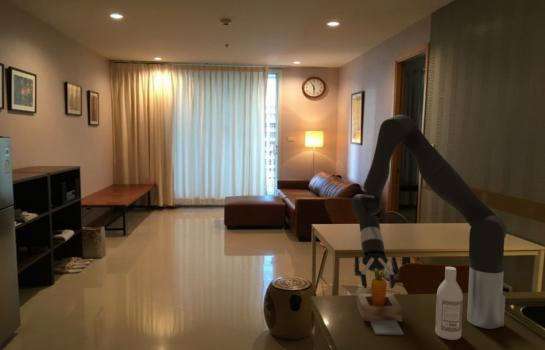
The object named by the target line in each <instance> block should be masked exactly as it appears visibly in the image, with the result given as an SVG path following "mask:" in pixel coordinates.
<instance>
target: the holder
mask: <svg viewBox="0 0 545 350" xmlns="http://www.w3.org/2000/svg"><path fill="white" fill-rule="evenodd" d="M356 307H357V309H358V312H359V314H360V316H361V320H362V321H363V322H370V320H396V321H397V323H398V322H403V308H402V305H400V303H399V302H398V300H397V299H396V297H395V296H394V294H393V293H386V296H385V301H384V305H383V306H374V305H373V301H372V293H356Z"/></svg>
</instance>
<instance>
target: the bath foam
mask: <svg viewBox="0 0 545 350" xmlns="http://www.w3.org/2000/svg"><path fill="white" fill-rule="evenodd" d="M436 291H437V292H436V301H435V303H436V305H435V326H434V327H435V329H434V330H435V331H434V332H435V334H436V336H438V337H439V338H442V339H444V340H449V341H455V340H459V339H460V338H462V329H463V327H462V325H463V308H464V307H463V306H464V305H463V304H464V296H463V295H464V294H463V290H462V288H461V287H460V285H459V284H458V282H457V268H456V267H453V266H445V271H444V280H443V281H442V282H441V283H440V284H439V286H438V288H437V290H436Z"/></svg>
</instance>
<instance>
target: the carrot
mask: <svg viewBox="0 0 545 350" xmlns="http://www.w3.org/2000/svg"><path fill="white" fill-rule="evenodd" d="M384 271H385V269H383V270H381V271H378V270H377V269H375V271H374V273H375V278H372V280H371V284H370V285H371V294H372V301H373V305H374V306H383V305H384V301H385V296H386V294H387V280H386V279H384V278H383V277H384V276H387V274H386V273H384ZM380 272H381V273H380Z"/></svg>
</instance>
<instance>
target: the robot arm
mask: <svg viewBox="0 0 545 350" xmlns="http://www.w3.org/2000/svg"><path fill="white" fill-rule="evenodd" d="M379 127H380V128H379V129H378V135H377V140H376V145H375V149H374V155H373V157H372V158H373V159H372V161H371V165H370V168H369V171H368V172H367V175H366V178H365V181H364V184H363V190H364V191H365V192H366V193H367V194H362V193H359V194H355V195H354V196H353V198H352V199H351V207H352V211H353V213H354V215H355V217H356V219H357V221H358V225H359V233H360V245H361V251H362V257H359V256H357V255H355V257H354V260H353V267H354V269H353V270H354V276H356V277H360V282H361V286H362V287H363V289H367V287H368V282H367V281H368V280H367V275H366V274H367V273H368V272H369V271H370V272H375V269H377V270H378V271H379V272H382V270H383V269H385V271H384V273H386V276H388V282H389V288H390V289H393V288H394V287H395V286H396V280H395V277H398V275H399V274H400V270H399V266H398V262H397V258H396V257H395V256H392V257H390V258H389V257H387V256H386V250H385V245H384V244H385V243H384V240H383V239H384V238H383V234H382V232H381V225H380V220H379V218H378V217H377V216H376V215H377V214H378V213H379V212H380V211H381V209H382V197H383V191H384V188H385V186H386V184H387V181H388V178H389V176H390V167H391V166H390V165H391V159H392V156H393V154H394V152H395V150H396V149H397V147H398V145H399V144H402V145H403V146H404V147H405V148H406V150H408V151H409V152H410V153H411V155H412V156H413V158H414V161H415V162H416V166H417V168H418V171H419V174H420V175H421V178H422V179H423V181H424V182H425V183H426V184H427V186H428V187H429V188H430V189H431V190H432V191H433V192H434V193H435V194H436V195H437V196H438V197H439V198H440V199H442V201H444V202H446V203H447V204H448V205H449V206H451V207H452V208H453V209H455V210H456V211H457V212H458V213H460V215H461V216H462V217H463V218H464V220H465V221H466V222H467V223H468V225H469V226H470V229H469V234H468V235H469V236H468V237H469V239H468V258H469V267H468V268H469V270H468V292H467V293H468V294H467V309H466V310H467V311H466V320H467V321H468V322H469V323H470V324H471V325H472V326H476V327H477V328H478V327H479V328H483V329H489V330H491V329H492V330H493V329H499V328H501V327H504V326H505V325H504V324H505V307H506V306H505V305H506V296H505V295H504V294H503V290H504V289H503V287H504V269H505V267H504V266H505V261H504V253H505V251H504V250H505V238H506V236H507V234H508V233H507V229H508V228H507V225H506V224H505V222H504V220H502V218H501V217H500V216H498V215H497V214H496V213H495V212H494V211H492V209H490V208H489V207H488V206H487V205H486V204H485V203H484V202H483V201H482V200H481V199H480V198H479V197H478V195H476V194H475V192H474V191H473V190H472V188H471V187H470V186H469V185H468V184H467V183H466V181H465V180H464V179H463V178H462V177H461V175H460V174H459V173H458V171H457V170H455V168H454V167H453V166H452V165H451V164H450V163H449V162H448V161H447V160H446V159H445V158H444V157H443V156H442V154H441V153H440V152H439V150H437V148H435V147H434V146H433V145H432V144H431V143H430V141H429V140H428V139H427V138H426V136H425V135H424V133H423V132H422V130H421V129H420V128H419V127H418V126H417V124H416V123H415V121H414V120H413V119H412V118H411V117H410V116H407V115H406V114H397V115H393V116H390V117H388V118H385V119H384V120H383V121H382V123H381V124H380V126H379ZM361 263H362V264H363V265H364V268H363V269H362V270H361V271H360V265H361ZM387 263H388V264H389V265H388V264H387ZM390 266H391V268H392V269H391V268H390Z"/></svg>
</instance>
